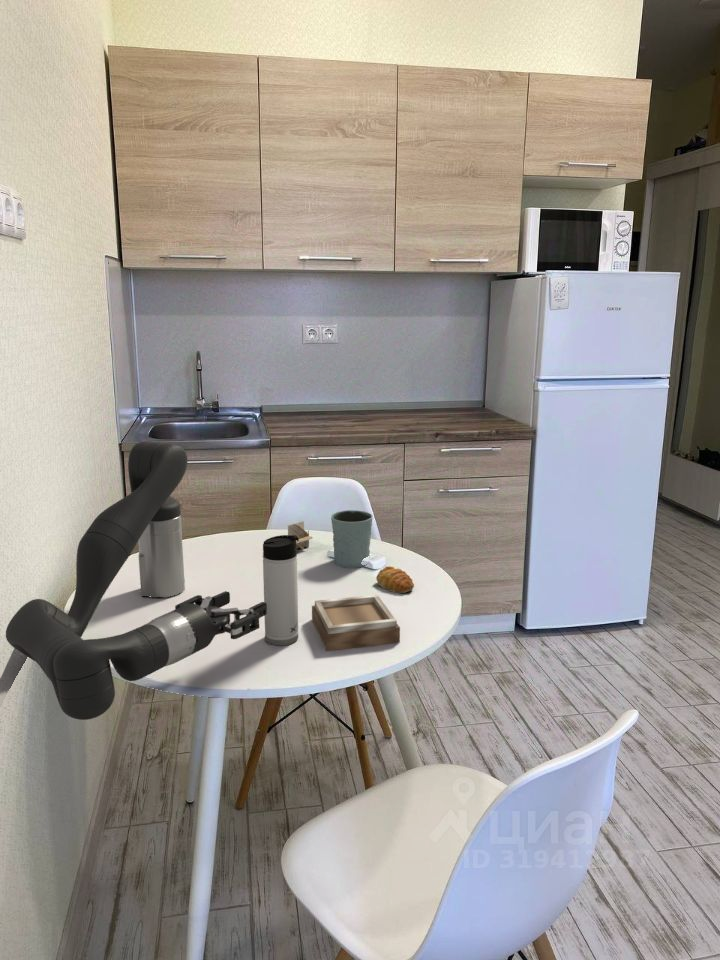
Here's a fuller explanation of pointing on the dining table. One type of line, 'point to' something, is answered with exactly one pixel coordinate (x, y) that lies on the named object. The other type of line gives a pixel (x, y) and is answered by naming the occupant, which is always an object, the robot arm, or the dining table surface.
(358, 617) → the square wooden tray
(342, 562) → the green cup
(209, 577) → the dining table surface
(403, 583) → the pastry
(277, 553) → the travel mug
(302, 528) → the architectural model
